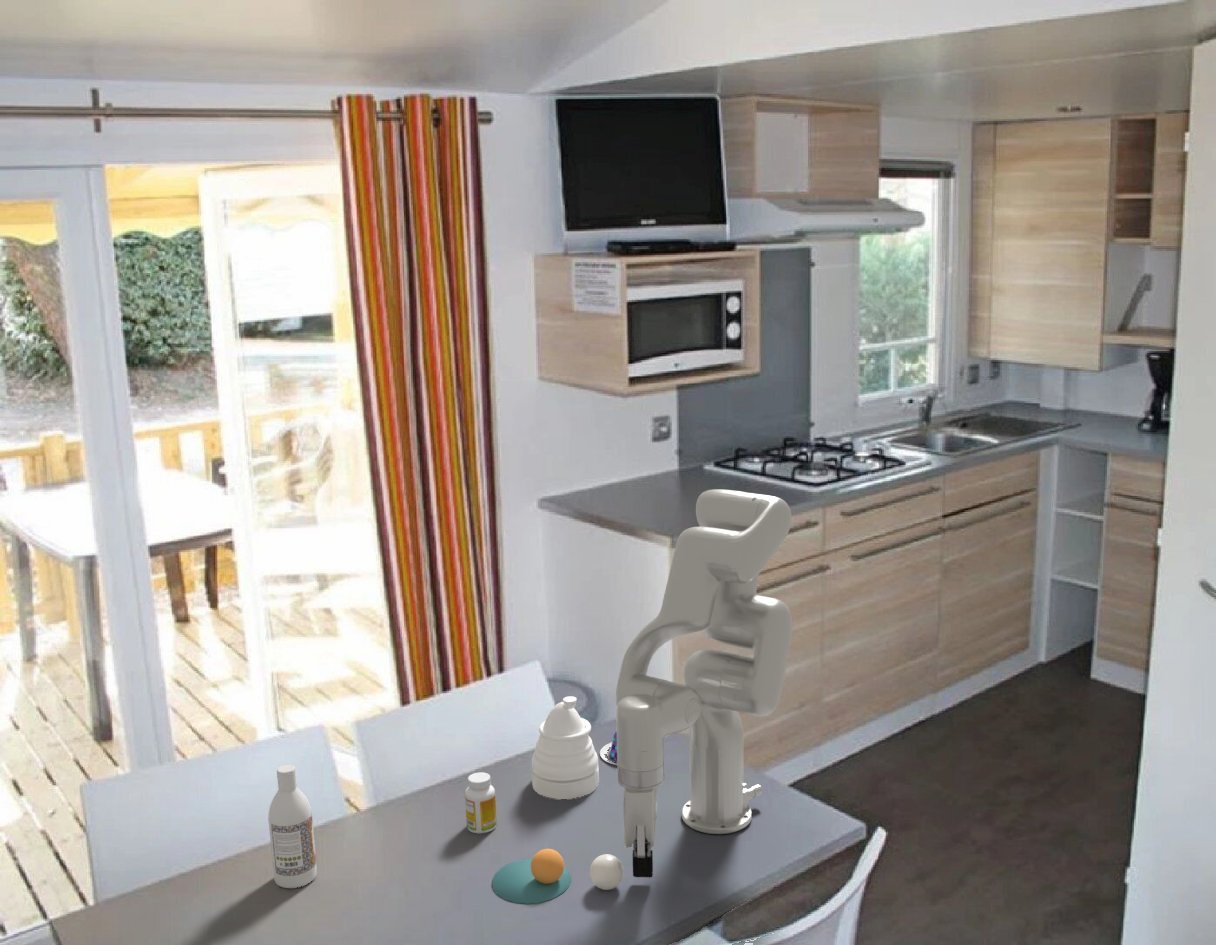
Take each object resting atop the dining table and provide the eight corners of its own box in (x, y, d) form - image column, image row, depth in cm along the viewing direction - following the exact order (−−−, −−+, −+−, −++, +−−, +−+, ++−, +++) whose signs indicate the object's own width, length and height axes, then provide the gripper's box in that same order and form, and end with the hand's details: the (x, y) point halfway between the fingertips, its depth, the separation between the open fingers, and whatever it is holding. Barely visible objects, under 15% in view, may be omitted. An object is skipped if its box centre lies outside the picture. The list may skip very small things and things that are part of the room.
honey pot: (612, 781, 229) (610, 694, 225) (565, 806, 220) (562, 716, 216) (565, 761, 237) (562, 677, 233) (518, 785, 228) (514, 698, 224)
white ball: (604, 841, 195) (599, 865, 198) (586, 860, 191) (580, 884, 193) (632, 859, 193) (626, 883, 195) (614, 878, 188) (608, 902, 191)
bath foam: (321, 883, 197) (311, 772, 192) (279, 894, 194) (268, 782, 189) (312, 863, 203) (302, 755, 198) (271, 873, 200) (260, 764, 196)
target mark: (542, 851, 205) (542, 850, 205) (586, 884, 195) (586, 883, 194) (477, 877, 197) (477, 876, 197) (519, 913, 187) (519, 912, 187)
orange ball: (565, 849, 199) (533, 853, 199) (559, 844, 194) (526, 848, 194) (567, 884, 196) (535, 887, 196) (561, 879, 191) (528, 883, 192)
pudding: (597, 744, 245) (596, 721, 244) (654, 740, 246) (654, 717, 245) (602, 771, 234) (602, 747, 232) (663, 767, 235) (662, 742, 234)
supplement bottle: (499, 819, 216) (497, 770, 214) (493, 834, 211) (491, 784, 208) (470, 818, 216) (467, 769, 214) (463, 834, 211) (461, 784, 209)
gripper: (620, 750, 198) (622, 849, 202) (614, 794, 183) (617, 900, 187) (665, 750, 197) (666, 850, 201) (663, 794, 183) (665, 901, 187)
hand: (642, 874), depth 194 cm, fingers closed
